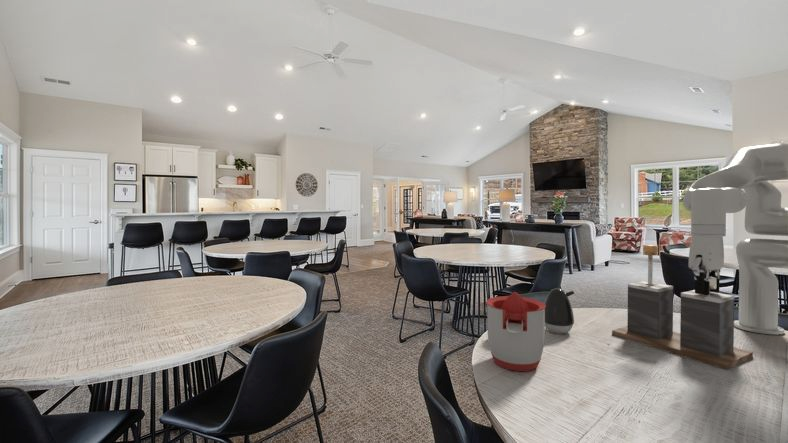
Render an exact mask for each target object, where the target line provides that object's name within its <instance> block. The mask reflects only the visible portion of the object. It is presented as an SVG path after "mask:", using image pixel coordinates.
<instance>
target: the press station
mask: <svg viewBox="0 0 788 443" xmlns="http://www.w3.org/2000/svg"><path fill="white" fill-rule="evenodd" d="M734 321H735V295H734V294H726V293H721V292H719V293H715V292H710V295H702V294H696V293H695V289H693V290H688V291H683V292H680V321H679V322H680V323H679V324H680V327H679V328H680V330H679V331H680V332H677V331H673V330H674V285H669V284H665V283H664V284H663V283H657V282H652V286H649V285H648V281H645V280H642V281H637V282H632V283H627V325H626V326H622V327H619V328H616V329H612V332H611V334H612V336H616V337H619V338H622V339H625V340H629V341H632V342H635V343H639V344H642V345H645V346H649V347H652V348H654V349H658V350H662V351H664V352H668V353H672V354H675V355H677V356H681V357H684V358H688V359H691V360H695V361H697V362H702V363H704V364H708V365H710V366H715V367H718V368H721V369H725V370H729V369H731V368H733V367H736V366H738V365H740V364H742V363H745V362H746V361H749V360H750V359H753V357H754V352H753V351H751V350H747V349H746V350H745V349H742V348H738V347H734V346H735V345H734V344H735V343H734V342H735V340H734V336H735V333H734V332H735V326H734Z"/></svg>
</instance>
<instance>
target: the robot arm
mask: <svg viewBox="0 0 788 443" xmlns="http://www.w3.org/2000/svg"><path fill="white" fill-rule="evenodd" d="M785 180H787V181H788V143H784V142H783V143H781V142H779V143H771V144H763V145H762V144H761V145H754V146H746V147H742V148H741V149H738V150H736V151H735V152H734V153H733V154H732V156H731V157H730V158H729V159H728V161H727V162H726V164H725V165H724V166H723V167H722V169H718V170H717V171H714V172H712V173H709V174H707V175H705V176H702V177H700V178H698V179H697V180H695V181H694V182H693V183H691V185H690V186H689V187H688V189H687V190H686V192H685V193H684V195H683V199H682V205H683V208H684V209H685V210H686V211H687V212H688V213H690V224H691V225H690V236H691V238H690V239H691V240H690V244H689V249H688V250H689V253H688V268H689V269H690V270H692V273H693V275H694V290H695V293H696V294H702V295H709V290H710V292H715V293H720V279H721V269H722V268H723V267H724V261H725V248H724V237H726V236H727V232H726V231H727V230H726V229H727V214H734V213H738V212H741V211H742V210H744V209H745V211H744V212H745V213H744V230H746V232H747V233H748V234H752V235H757V236H774V237H775V236H780V237H788V207H782V193H781V191H780V190H779V189H778V188H777V187H776V186H775V185H774V184H772V183H771V182H769V181H785ZM735 254H736V259H737V264H738V272H739V273H738V274H739V275H738V276H739V277H738V279H739V280H738V320H737V319H734V328H737V329H739V330H743V331H747V332H752V333H757V334H761V335H762V334H763V335H764V334H765V335H775V336H779V334H780V335H783V334H785V329H784V328H783V327H780V326H778V325H779V321H778V320H779V280H778V277H777V276H776V275H775V273H774V272H773V271H772V270H771V269H770V268H772V269H773V268H775V269H786V270H788V239H774V238H773V239H772V238H746V239H743V240H740V241H739V242H738V243H737V244H736V247H735ZM708 277H715V278H717V288H716V289H710V281H708Z"/></svg>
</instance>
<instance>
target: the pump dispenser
mask: <svg viewBox="0 0 788 443" xmlns="http://www.w3.org/2000/svg"><path fill="white" fill-rule="evenodd" d="M574 294H575V291H574V290H571V291H568V292H565V290H563V289H562V288H559V287H556V288H553V289H551V290H550V291H549V292H548V294H547V296H546V298H545V299H544V302H543V303H544V304H545V305H546V308H545V330H547V331H549V332H550V331H551V332H550V333H553V334H557V333H558V334H557V335H564V334H567V333H569V332H570V331H571V330H572V328H573V325H574V324H575V317H574V316H575V315H574V310H573V307H572V303H571V301H570V299H569V297H571V296H572V295H574Z"/></svg>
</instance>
